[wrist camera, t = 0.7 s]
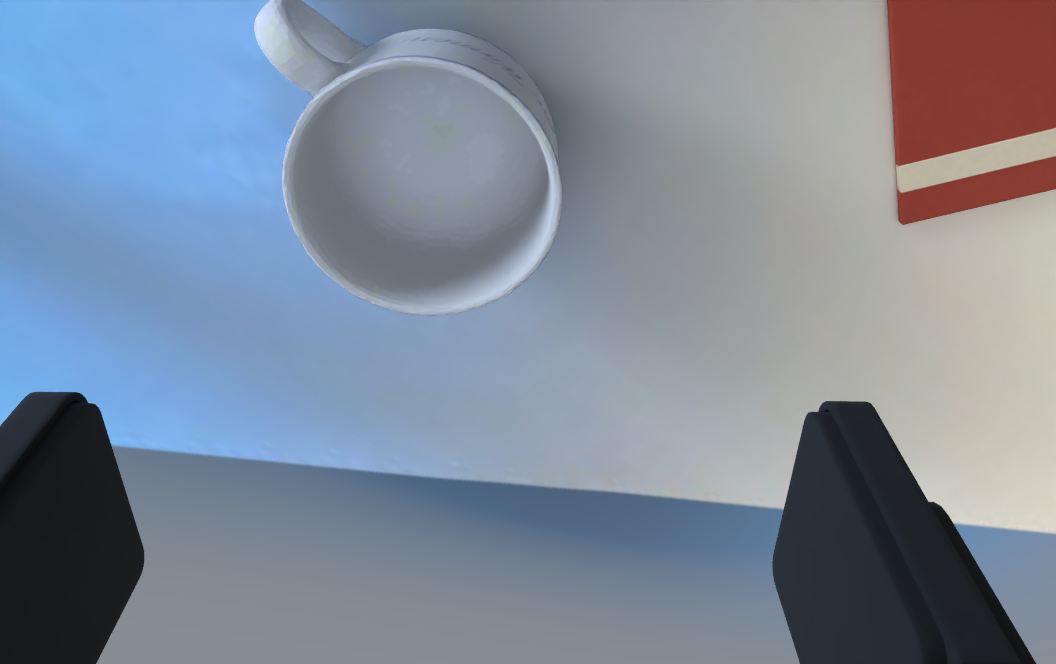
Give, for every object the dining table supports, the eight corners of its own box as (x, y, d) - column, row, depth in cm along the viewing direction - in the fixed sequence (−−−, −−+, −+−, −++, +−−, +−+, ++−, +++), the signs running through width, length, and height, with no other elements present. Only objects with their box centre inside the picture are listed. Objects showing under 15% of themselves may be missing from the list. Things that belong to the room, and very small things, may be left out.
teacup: (597, 178, 40) (610, 250, 33) (406, 276, 43) (382, 362, 36) (441, -111, 34) (418, -96, 27) (229, 26, 37) (159, 71, 30)
